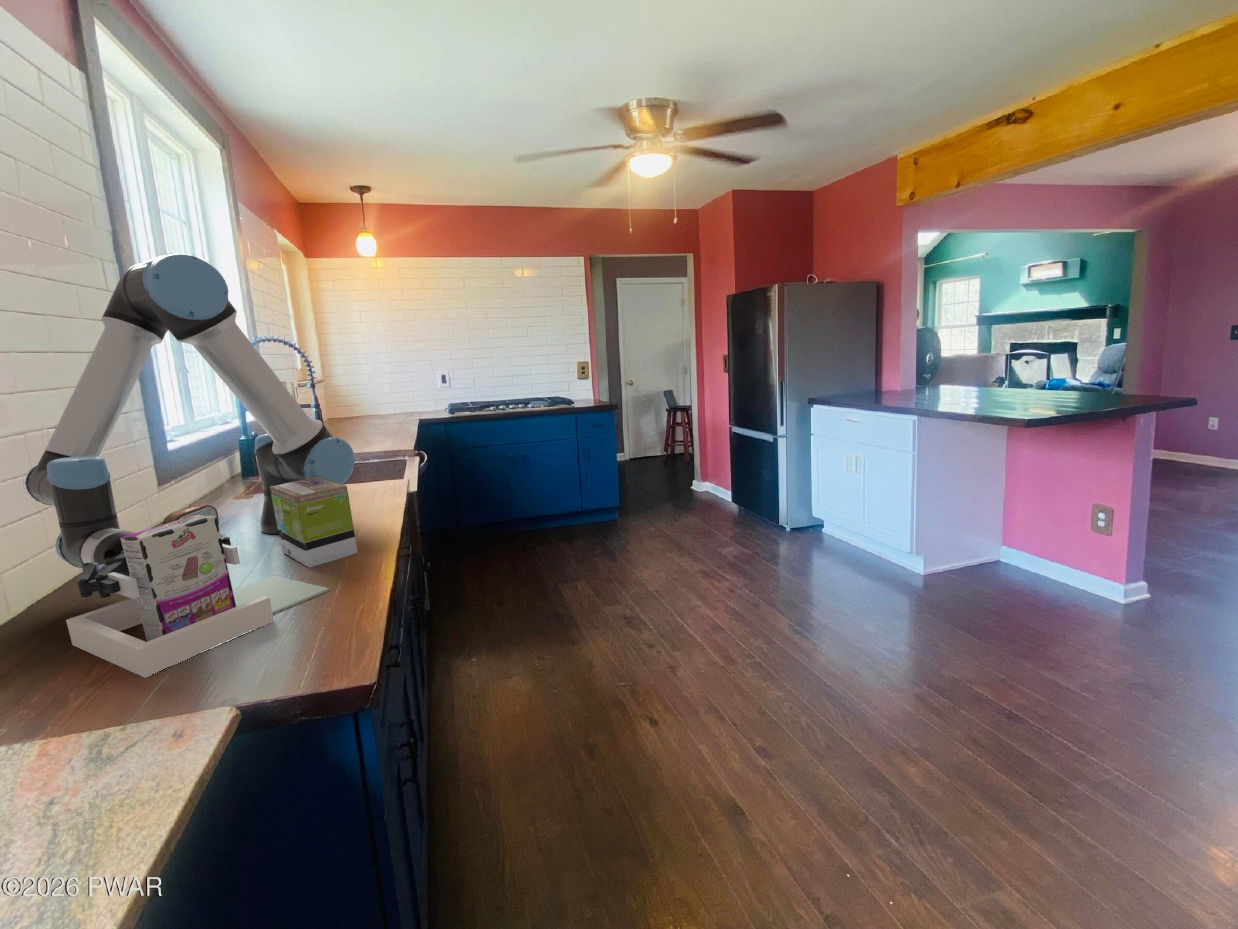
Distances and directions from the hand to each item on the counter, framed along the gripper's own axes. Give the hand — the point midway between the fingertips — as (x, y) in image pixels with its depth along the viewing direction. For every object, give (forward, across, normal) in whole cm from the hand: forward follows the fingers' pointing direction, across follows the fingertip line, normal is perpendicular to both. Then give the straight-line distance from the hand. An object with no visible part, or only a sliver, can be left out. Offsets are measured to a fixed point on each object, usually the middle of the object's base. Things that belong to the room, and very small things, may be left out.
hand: (188, 571), depth 88 cm
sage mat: (-3, -12, -10) cm, 16 cm away
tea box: (-15, -30, -10) cm, 35 cm away
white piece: (-3, +2, -10) cm, 10 cm away
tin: (-51, -24, -10) cm, 58 cm away
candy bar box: (-3, 0, -10) cm, 10 cm away
